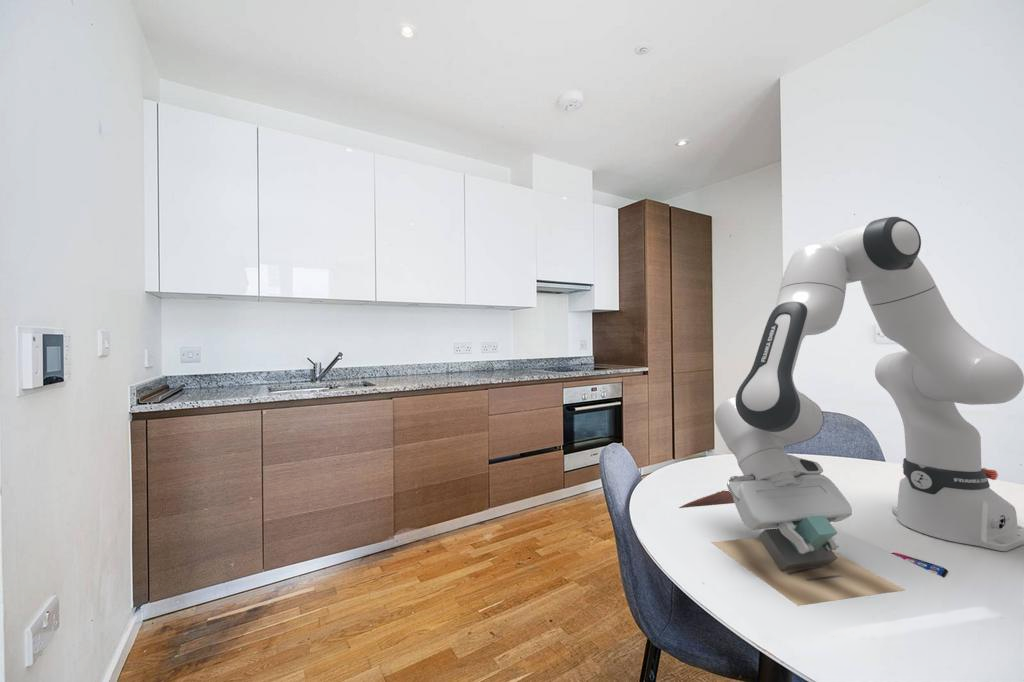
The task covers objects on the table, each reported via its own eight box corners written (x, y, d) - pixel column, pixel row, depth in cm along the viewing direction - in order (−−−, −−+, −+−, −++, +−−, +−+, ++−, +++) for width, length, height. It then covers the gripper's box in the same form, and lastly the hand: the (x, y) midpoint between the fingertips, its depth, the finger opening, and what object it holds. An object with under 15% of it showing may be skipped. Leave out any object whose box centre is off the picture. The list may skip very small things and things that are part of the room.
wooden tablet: (726, 484, 110) (764, 491, 101) (727, 492, 109) (766, 499, 101) (672, 508, 94) (713, 518, 86) (673, 517, 94) (714, 528, 86)
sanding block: (804, 531, 73) (832, 505, 68) (829, 564, 68) (861, 539, 63) (758, 536, 71) (783, 510, 66) (780, 571, 66) (809, 546, 61)
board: (797, 540, 80) (797, 532, 80) (905, 599, 61) (905, 589, 61) (711, 549, 76) (711, 542, 76) (798, 615, 58) (797, 605, 58)
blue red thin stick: (865, 575, 67) (891, 550, 75) (865, 579, 67) (891, 553, 75) (928, 598, 61) (949, 568, 69) (928, 603, 61) (949, 572, 69)
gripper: (731, 468, 70) (777, 550, 61) (826, 462, 74) (884, 538, 64) (714, 484, 75) (755, 563, 65) (805, 477, 78) (856, 551, 68)
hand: (820, 551), depth 65 cm, fingers closed on sanding block, 3 cm apart
